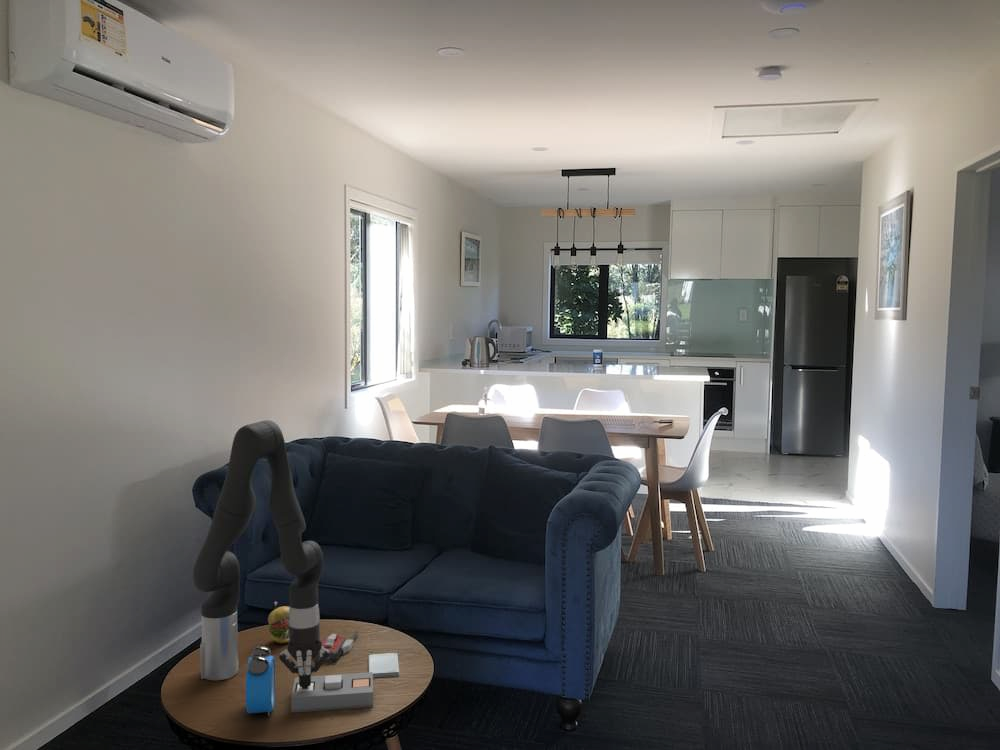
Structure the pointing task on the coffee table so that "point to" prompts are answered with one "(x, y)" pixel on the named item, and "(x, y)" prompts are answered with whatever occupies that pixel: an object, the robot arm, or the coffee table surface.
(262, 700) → the alarm clock
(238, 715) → the coffee table surface
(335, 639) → the walkie-talkie
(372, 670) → the hard drive
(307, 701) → the keypad
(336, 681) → the key mid grey
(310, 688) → the key near ivory
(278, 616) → the hamburger
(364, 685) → the key far terracotta
